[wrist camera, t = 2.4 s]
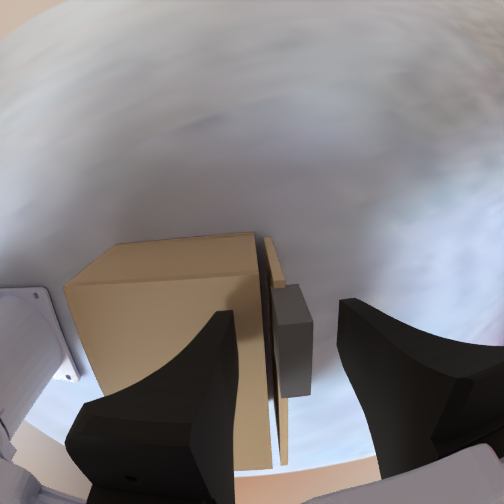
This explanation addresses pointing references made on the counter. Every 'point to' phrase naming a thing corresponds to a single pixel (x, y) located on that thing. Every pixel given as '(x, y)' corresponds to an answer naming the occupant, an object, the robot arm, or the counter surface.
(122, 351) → the carton
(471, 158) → the counter surface
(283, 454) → the carton flap
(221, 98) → the counter surface
